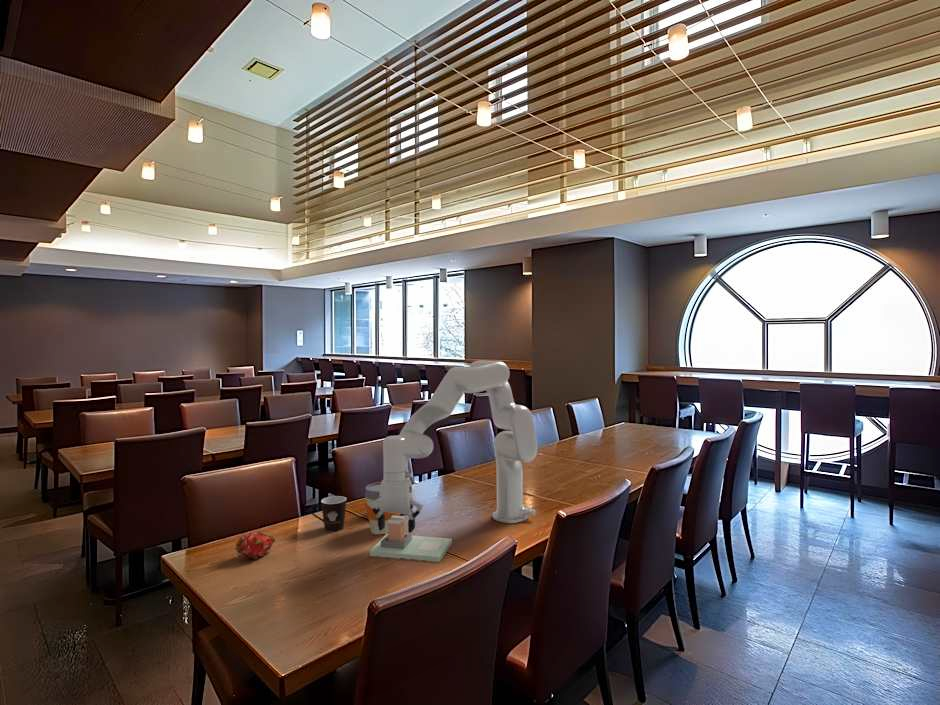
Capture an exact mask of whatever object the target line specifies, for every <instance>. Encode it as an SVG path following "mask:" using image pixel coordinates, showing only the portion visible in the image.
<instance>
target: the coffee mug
mask: <svg viewBox="0 0 940 705" xmlns="http://www.w3.org/2000/svg"><path fill="white" fill-rule="evenodd" d="M347 501H348V500H347V497H345V496H341V495H340V496H339V495H333V496H327V497H324V498H322V499H321V501H320V504H319V503H315V504H313V505H311V506H310V509H309V512H310V513H311V515H312V516H313V517H314V518H316V519H317V520H318V519H319V520H320V521H322V522H323V527H324V531H325V530H326V532H328V531H329V532H330V531H333V532H332V533H335V531H336V532H340V531H342V530H344V528H345V518H346V509H347ZM314 507H319V508H320V510H321V511H322V517H320V516H318V515H317V514H315V513H314V512H313V508H314ZM339 530H340V531H339ZM329 532H328V533H329ZM330 533H331V532H330Z"/></svg>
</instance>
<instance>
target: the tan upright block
mask: <svg viewBox="0 0 940 705" xmlns="http://www.w3.org/2000/svg"><path fill="white" fill-rule="evenodd" d="M405 518H406V515H402V516H401V515H399V516H392V517H391V518H390V519H389V520H388V541H398V542H402V541H403V540H404V539H405V534H406V519H405Z"/></svg>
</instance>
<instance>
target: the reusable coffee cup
mask: <svg viewBox="0 0 940 705" xmlns="http://www.w3.org/2000/svg"><path fill="white" fill-rule="evenodd" d="M381 482H382V481H377V482H373V483H370V484H367V485H366V486H365V490H364V491H365V492H364V497H365V499H366V500H365V501H366V502H365V509H366V515H367V516H366V517H367V518H368V522H369V528H370V533H372V532H373V533H372V534H374V533H376V534H375V535H378V534H385V535H386V534H387V533H388V520H389V519H390V518H391V517H392V516H401V515H400V513H386V512H384V513H383V515H384V516H385V528H383V529H382V530H381V531H380V530H379V527H378V518H377V517H376V514H375V513H374V512H373V511H372V508H371V506H370V502H372V501H373V500H375V499H377V498H380V488H381ZM376 507H378V509H379V510H380V508H379V503H377V504H376Z"/></svg>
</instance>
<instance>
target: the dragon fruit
mask: <svg viewBox="0 0 940 705" xmlns="http://www.w3.org/2000/svg"><path fill="white" fill-rule="evenodd" d="M275 540H276V539H275V538H274V537H273V536H272V535H271V534H268V533H267V534H266V533H263V530H259V531H257V532H255V531H254V530H253V531H251V532H250V533H243V534H242V536H241V537H240V538H239V539H238V540H237V542H236V543H235V544H236V545H235V546H236V547H235V548H234V549H235V551H236V552H237V553H238V554H237V557H239V558H243V557H245V559H246V560H250V558H251V559H253V560H257V559H258V557H266V556H268V554H270V552H269V551H270V550H271V548H272V546H273V545H274V543H275V542H276V541H275ZM265 555H266V556H265Z"/></svg>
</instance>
